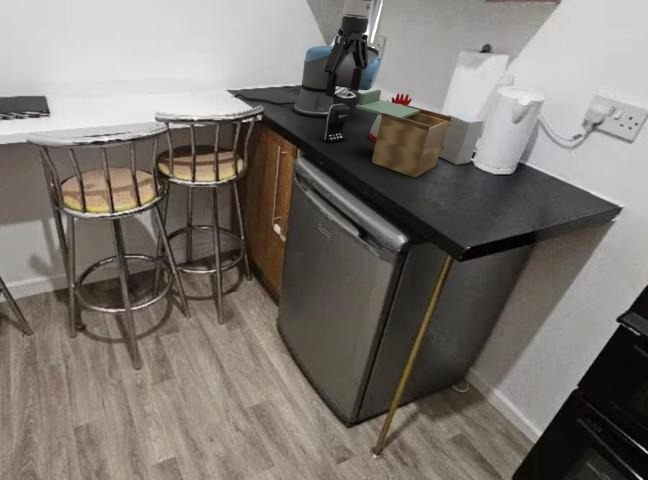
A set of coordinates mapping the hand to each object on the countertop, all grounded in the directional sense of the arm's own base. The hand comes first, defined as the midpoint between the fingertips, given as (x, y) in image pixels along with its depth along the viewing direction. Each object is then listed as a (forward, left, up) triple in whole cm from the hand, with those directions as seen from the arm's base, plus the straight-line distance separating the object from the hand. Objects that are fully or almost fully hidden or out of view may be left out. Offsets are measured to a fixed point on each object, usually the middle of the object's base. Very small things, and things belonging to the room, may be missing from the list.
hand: (342, 93), depth 141 cm
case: (+25, 0, -15) cm, 29 cm away
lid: (+16, 0, -1) cm, 16 cm away
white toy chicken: (+11, +17, -15) cm, 25 cm away
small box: (+33, +17, -15) cm, 40 cm away
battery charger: (0, 0, -15) cm, 15 cm away
